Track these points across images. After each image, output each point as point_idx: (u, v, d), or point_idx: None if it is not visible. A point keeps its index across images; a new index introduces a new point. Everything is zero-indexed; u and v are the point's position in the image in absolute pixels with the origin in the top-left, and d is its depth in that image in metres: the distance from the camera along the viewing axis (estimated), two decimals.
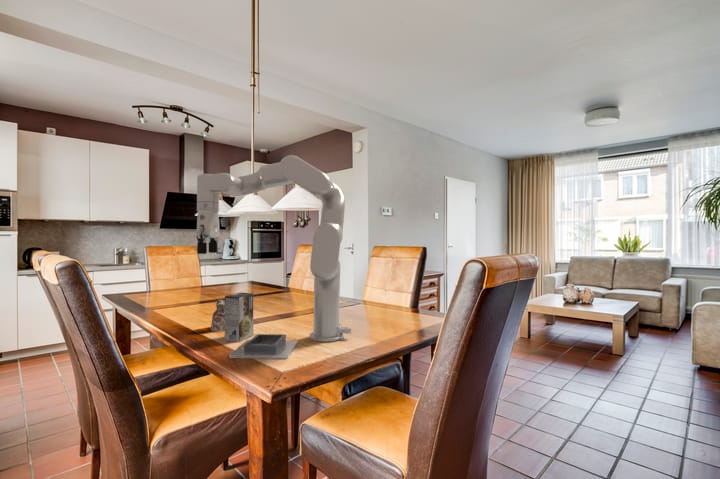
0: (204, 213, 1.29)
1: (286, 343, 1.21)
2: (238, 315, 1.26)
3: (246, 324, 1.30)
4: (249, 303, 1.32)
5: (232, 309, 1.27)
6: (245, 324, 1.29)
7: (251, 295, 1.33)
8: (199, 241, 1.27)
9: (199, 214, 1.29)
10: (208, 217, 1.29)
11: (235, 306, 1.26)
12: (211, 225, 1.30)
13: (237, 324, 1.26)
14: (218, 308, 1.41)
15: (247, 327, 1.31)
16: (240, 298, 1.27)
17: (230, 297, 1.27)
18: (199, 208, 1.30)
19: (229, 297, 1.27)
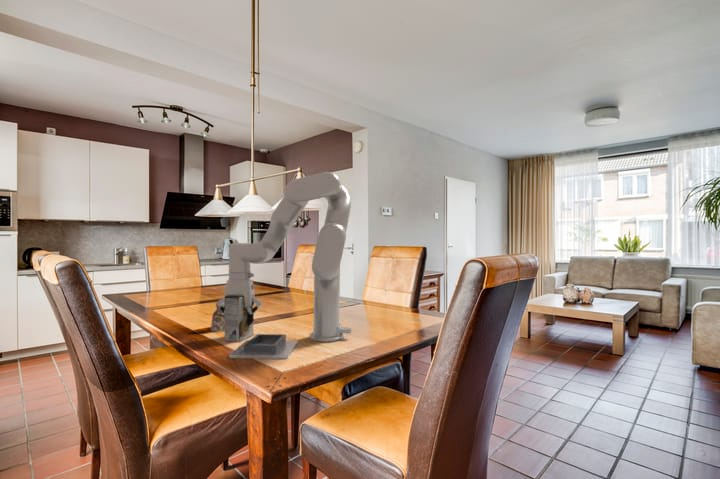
0: (252, 283, 1.32)
1: (286, 343, 1.21)
2: (238, 315, 1.26)
3: (246, 324, 1.30)
4: None
5: (232, 309, 1.27)
6: (245, 324, 1.29)
7: None
8: (253, 312, 1.31)
9: (250, 284, 1.30)
10: None
11: (235, 306, 1.26)
12: None
13: (237, 323, 1.26)
14: (218, 308, 1.41)
15: (247, 327, 1.31)
16: (240, 298, 1.27)
17: (230, 297, 1.27)
18: (247, 278, 1.29)
19: (229, 297, 1.27)
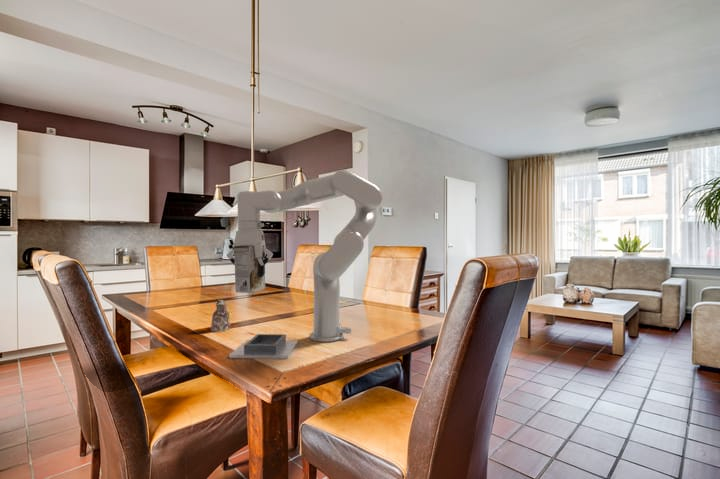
0: (262, 233, 1.26)
1: (286, 343, 1.21)
2: (249, 265, 1.21)
3: (257, 276, 1.25)
4: None
5: (242, 259, 1.21)
6: (256, 276, 1.24)
7: None
8: (264, 264, 1.25)
9: (260, 234, 1.24)
10: None
11: (245, 255, 1.21)
12: None
13: (247, 274, 1.21)
14: (218, 308, 1.41)
15: (259, 279, 1.26)
16: (250, 247, 1.21)
17: (240, 247, 1.22)
18: (256, 228, 1.24)
19: (239, 247, 1.22)
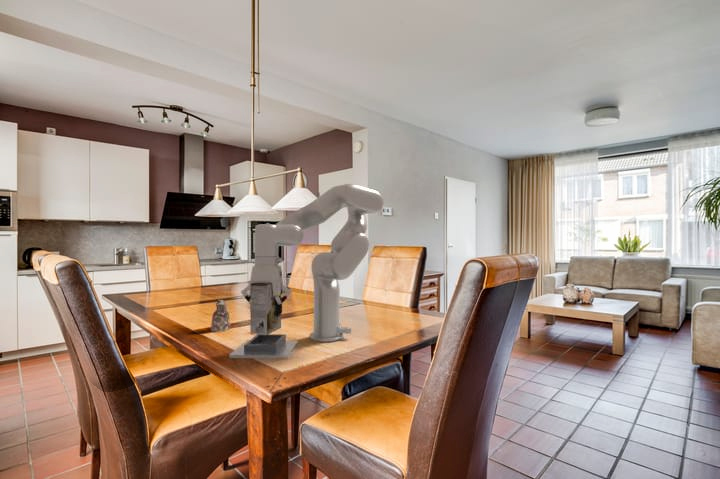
0: (281, 269, 1.17)
1: (286, 343, 1.21)
2: (266, 305, 1.12)
3: (274, 315, 1.16)
4: None
5: (259, 298, 1.12)
6: (273, 315, 1.15)
7: None
8: (282, 302, 1.16)
9: (279, 271, 1.16)
10: None
11: (263, 294, 1.12)
12: None
13: (264, 314, 1.12)
14: (218, 308, 1.41)
15: (275, 319, 1.17)
16: (268, 286, 1.12)
17: (257, 284, 1.13)
18: (275, 264, 1.15)
19: (255, 284, 1.13)
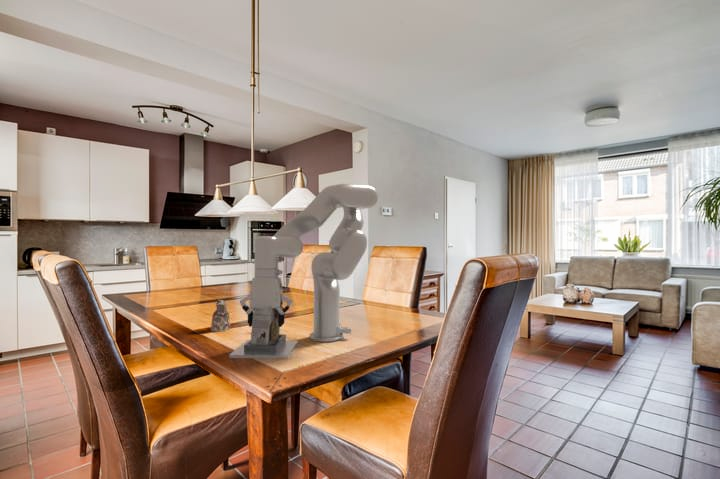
0: None
1: (286, 343, 1.21)
2: (270, 315, 1.14)
3: (275, 328, 1.17)
4: None
5: (262, 308, 1.15)
6: (274, 328, 1.17)
7: None
8: (284, 312, 1.16)
9: (278, 283, 1.16)
10: None
11: None
12: None
13: (267, 325, 1.14)
14: (218, 308, 1.41)
15: (275, 332, 1.18)
16: None
17: None
18: (275, 276, 1.15)
19: None
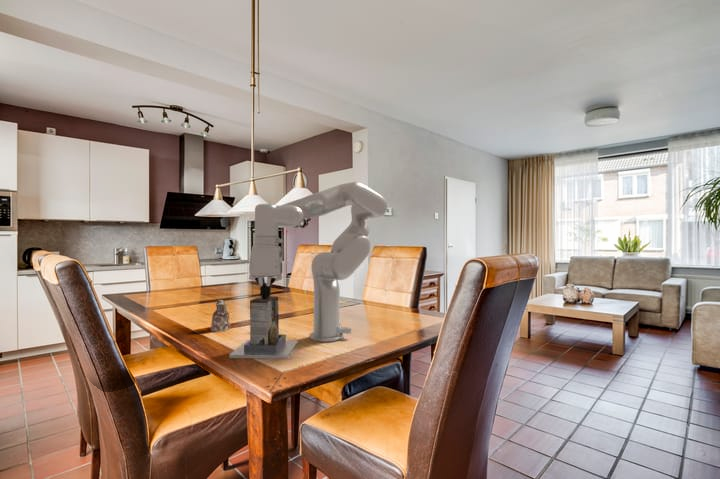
0: (280, 249, 1.17)
1: (286, 343, 1.21)
2: (267, 322, 1.12)
3: (273, 331, 1.16)
4: (275, 307, 1.18)
5: (259, 315, 1.12)
6: (272, 332, 1.15)
7: (277, 298, 1.19)
8: (271, 284, 1.16)
9: (278, 251, 1.15)
10: None
11: (264, 311, 1.12)
12: None
13: (265, 331, 1.12)
14: (218, 308, 1.41)
15: (274, 335, 1.17)
16: (269, 302, 1.12)
17: (257, 301, 1.12)
18: (275, 244, 1.15)
19: (255, 302, 1.12)
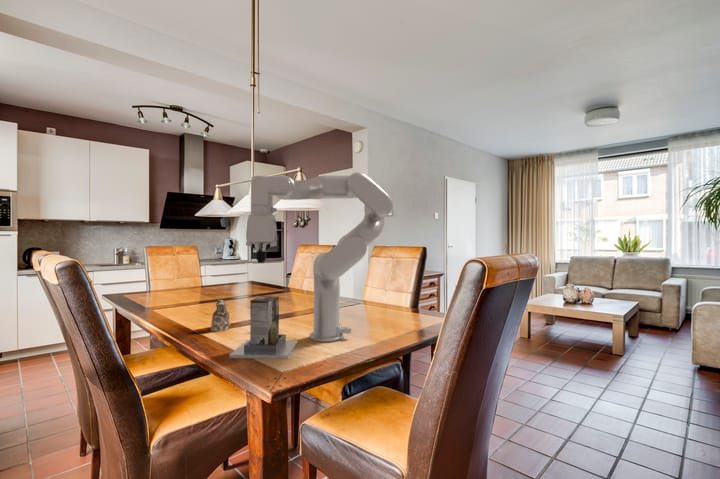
0: None
1: (286, 343, 1.21)
2: (268, 322, 1.12)
3: (273, 331, 1.16)
4: (276, 307, 1.18)
5: (259, 315, 1.12)
6: (273, 332, 1.15)
7: (277, 299, 1.19)
8: (266, 250, 1.27)
9: (273, 219, 1.26)
10: None
11: (264, 311, 1.12)
12: None
13: (266, 331, 1.12)
14: (218, 308, 1.41)
15: (275, 335, 1.17)
16: (269, 302, 1.13)
17: (257, 301, 1.12)
18: (270, 212, 1.25)
19: (256, 301, 1.12)
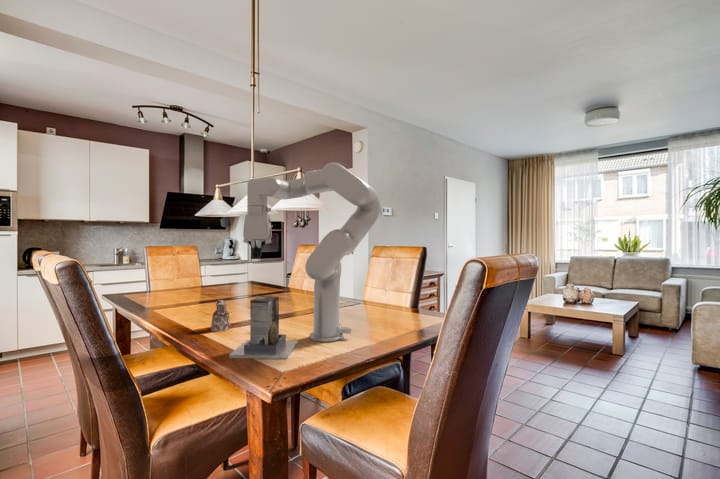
0: (269, 217, 1.40)
1: (286, 343, 1.21)
2: (268, 322, 1.12)
3: (273, 331, 1.16)
4: (276, 307, 1.18)
5: (259, 315, 1.12)
6: (273, 332, 1.15)
7: (277, 299, 1.19)
8: (261, 246, 1.39)
9: (267, 218, 1.38)
10: None
11: (264, 311, 1.12)
12: None
13: (266, 331, 1.12)
14: (218, 308, 1.41)
15: (275, 335, 1.17)
16: (269, 302, 1.13)
17: (257, 301, 1.12)
18: (264, 212, 1.37)
19: (256, 302, 1.12)
